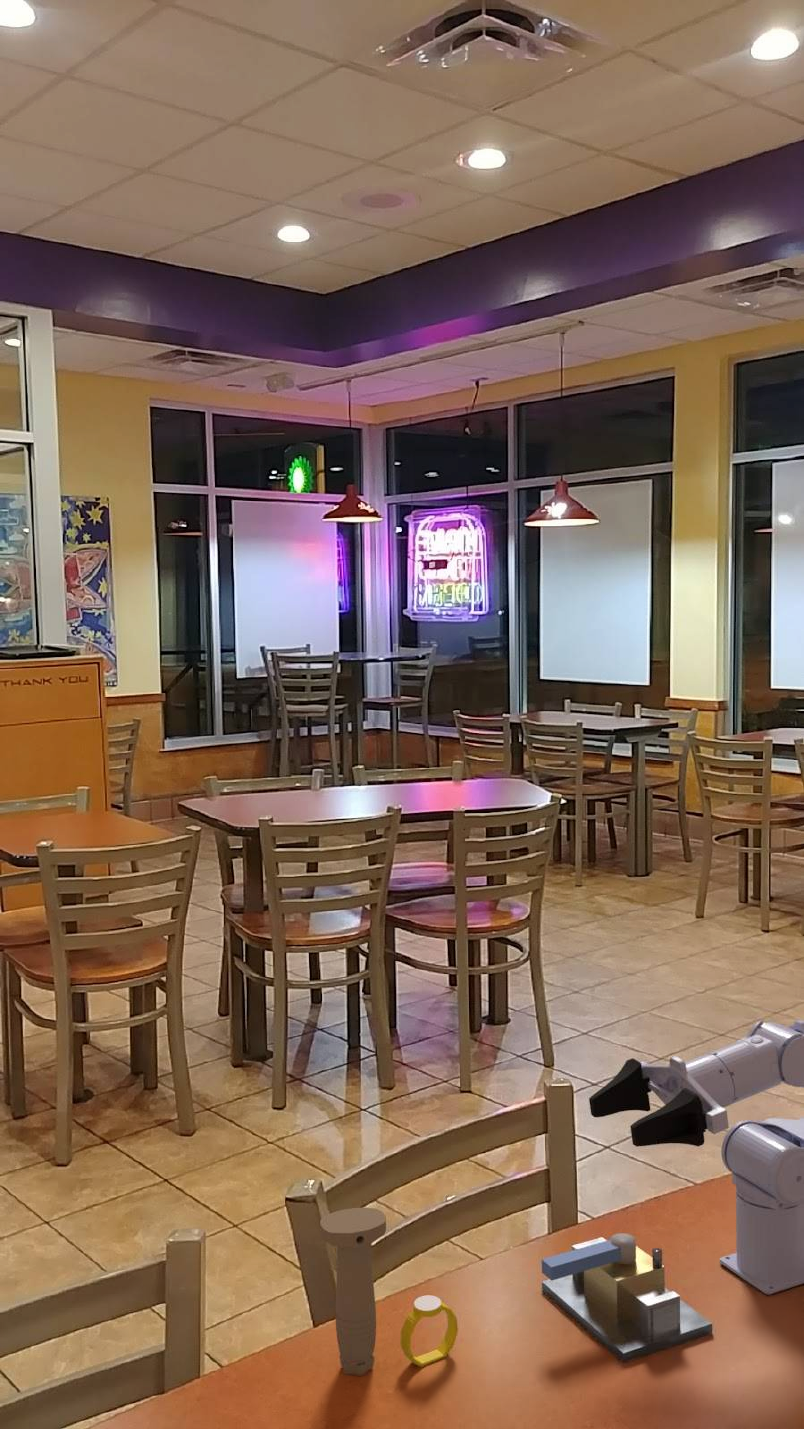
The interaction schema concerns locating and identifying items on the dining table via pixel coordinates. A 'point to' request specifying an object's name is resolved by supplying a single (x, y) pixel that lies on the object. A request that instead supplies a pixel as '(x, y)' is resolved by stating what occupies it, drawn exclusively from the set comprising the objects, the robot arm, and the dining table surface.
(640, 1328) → the valve
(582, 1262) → the lever
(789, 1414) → the dining table surface
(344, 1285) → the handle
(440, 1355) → the watch
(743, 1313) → the dining table surface
